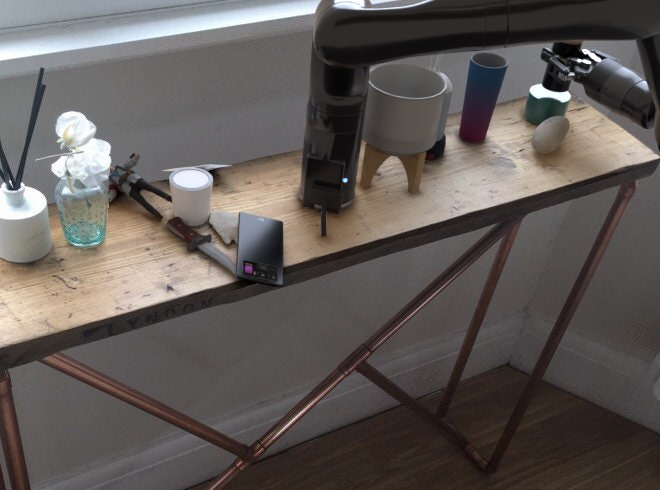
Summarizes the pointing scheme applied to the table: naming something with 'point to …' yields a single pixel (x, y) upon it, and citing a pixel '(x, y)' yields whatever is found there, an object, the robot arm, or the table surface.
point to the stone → (550, 134)
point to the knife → (199, 242)
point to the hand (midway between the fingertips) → (554, 50)
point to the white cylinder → (191, 195)
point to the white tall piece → (441, 137)
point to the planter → (401, 118)
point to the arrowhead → (225, 225)
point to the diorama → (200, 167)
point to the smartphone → (260, 250)
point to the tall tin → (566, 51)
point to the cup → (481, 94)
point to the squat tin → (545, 104)
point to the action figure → (133, 185)
